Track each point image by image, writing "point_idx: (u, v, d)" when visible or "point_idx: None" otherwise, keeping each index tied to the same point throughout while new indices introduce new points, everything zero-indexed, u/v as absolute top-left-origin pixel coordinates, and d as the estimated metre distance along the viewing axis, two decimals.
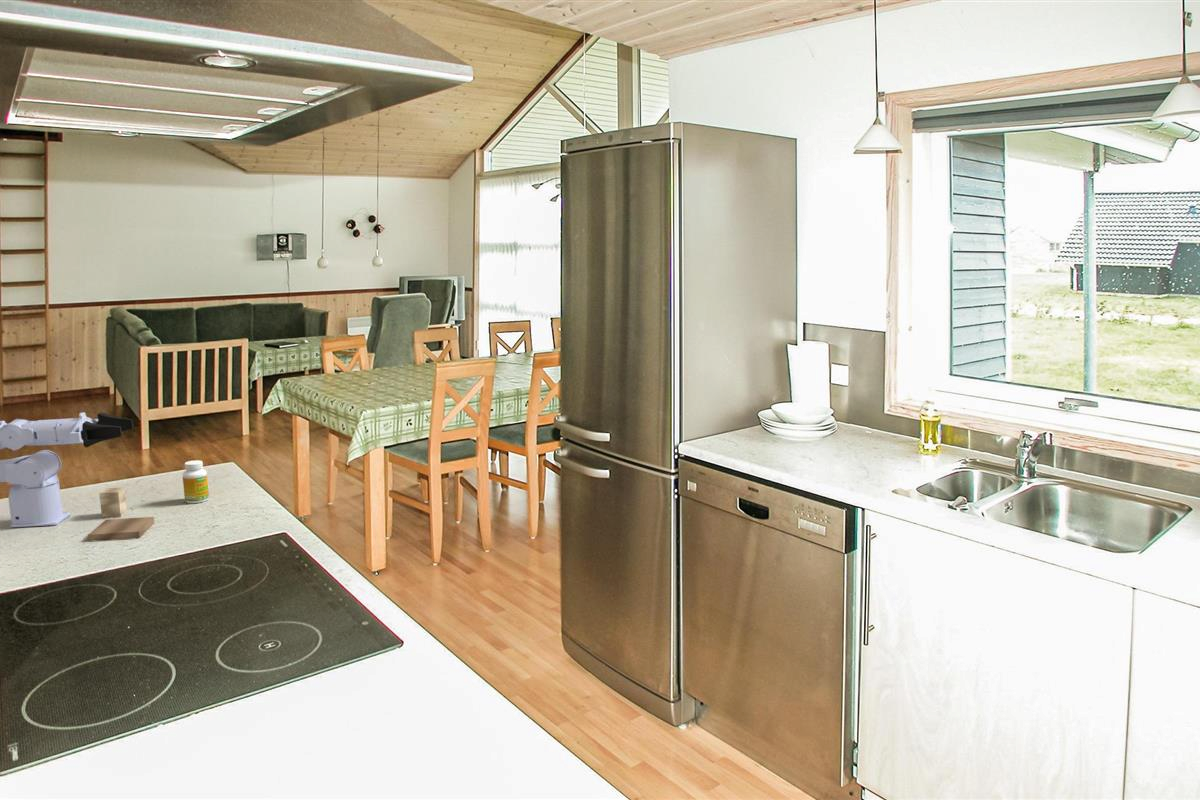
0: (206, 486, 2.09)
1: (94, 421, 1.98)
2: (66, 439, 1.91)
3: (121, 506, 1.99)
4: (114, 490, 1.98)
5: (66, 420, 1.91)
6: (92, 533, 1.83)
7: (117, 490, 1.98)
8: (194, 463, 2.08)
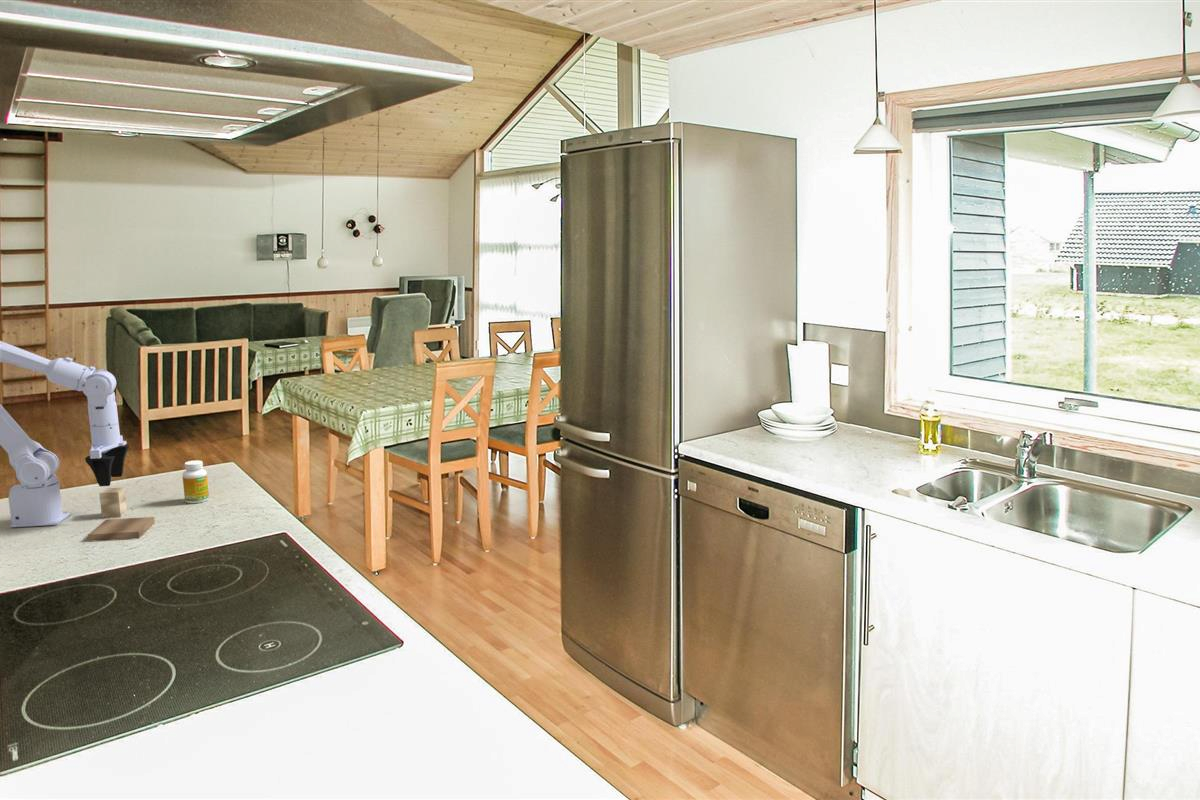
0: (206, 486, 2.09)
1: None
2: (94, 434, 1.93)
3: (121, 506, 1.99)
4: (114, 490, 1.98)
5: (116, 431, 1.95)
6: (92, 533, 1.83)
7: (117, 490, 1.98)
8: (194, 463, 2.08)
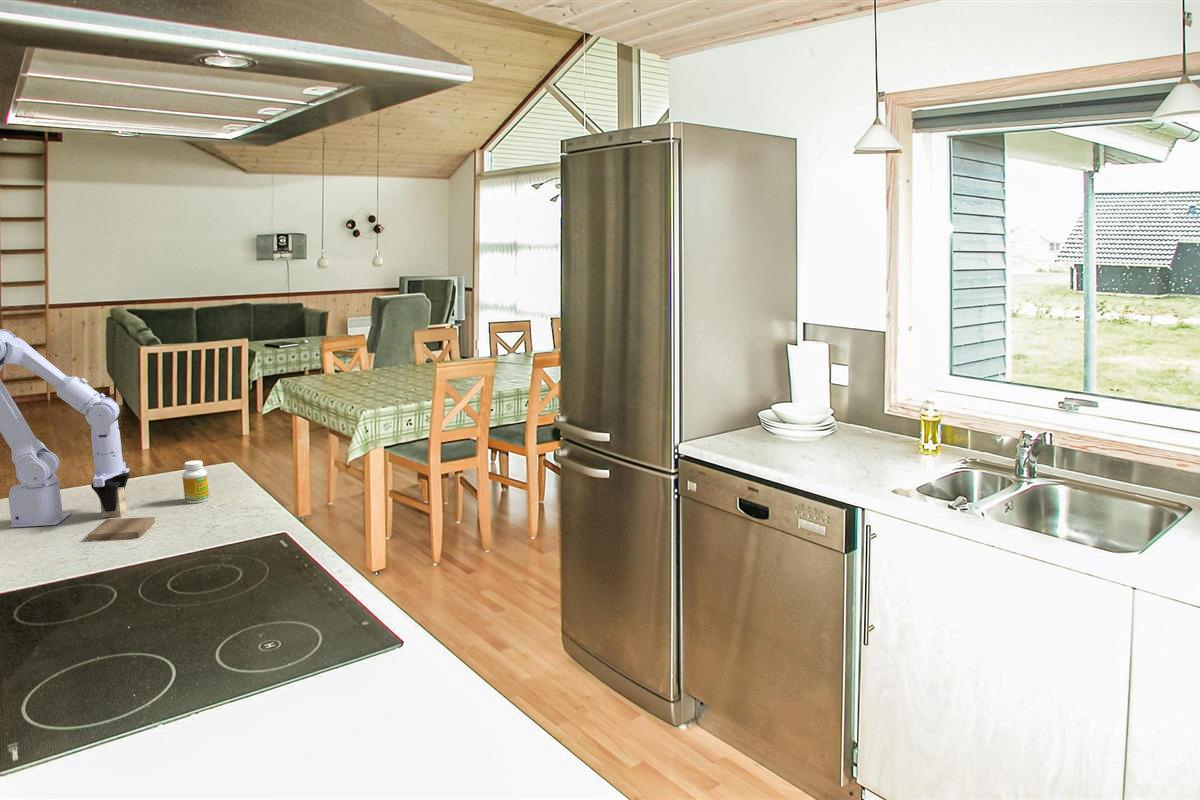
0: (206, 486, 2.09)
1: None
2: (97, 461, 1.94)
3: (121, 506, 1.99)
4: None
5: (119, 459, 1.97)
6: (92, 533, 1.83)
7: None
8: (194, 463, 2.08)
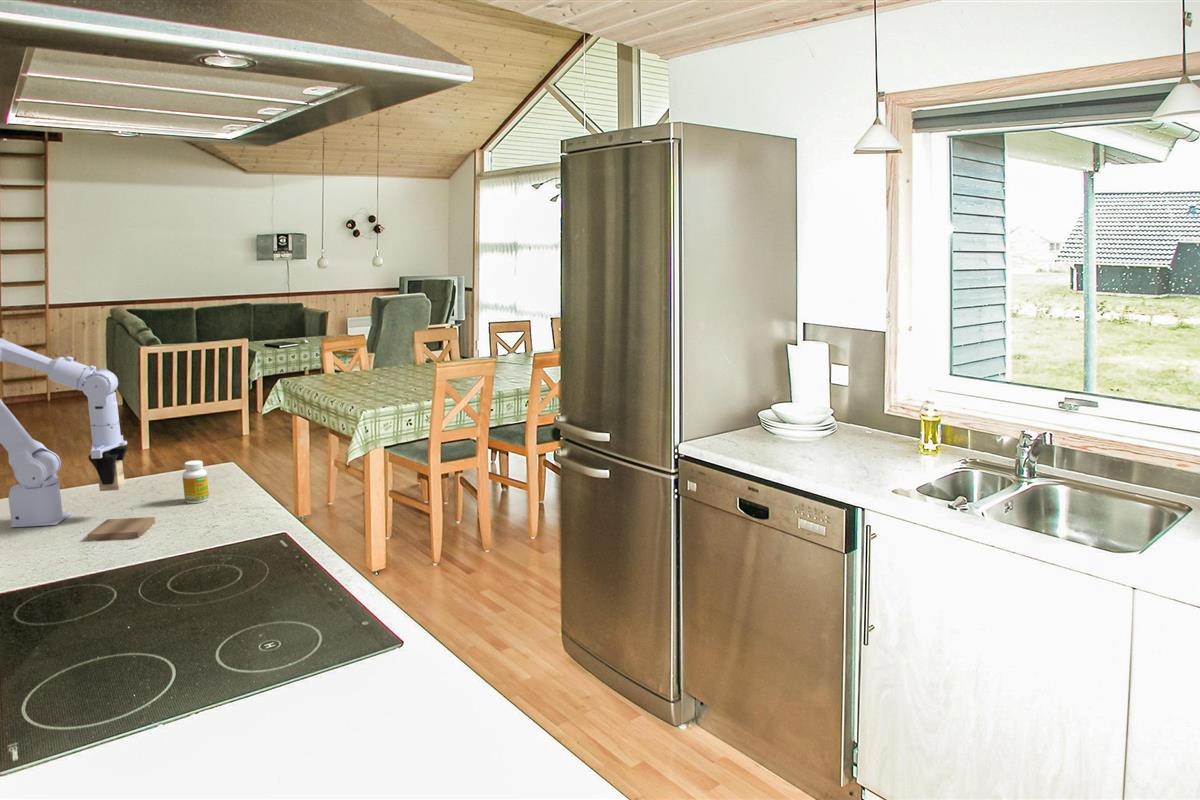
0: (206, 486, 2.09)
1: None
2: (95, 433, 1.92)
3: (119, 479, 1.96)
4: None
5: (117, 431, 1.94)
6: (91, 533, 1.83)
7: (115, 463, 1.96)
8: (194, 463, 2.08)
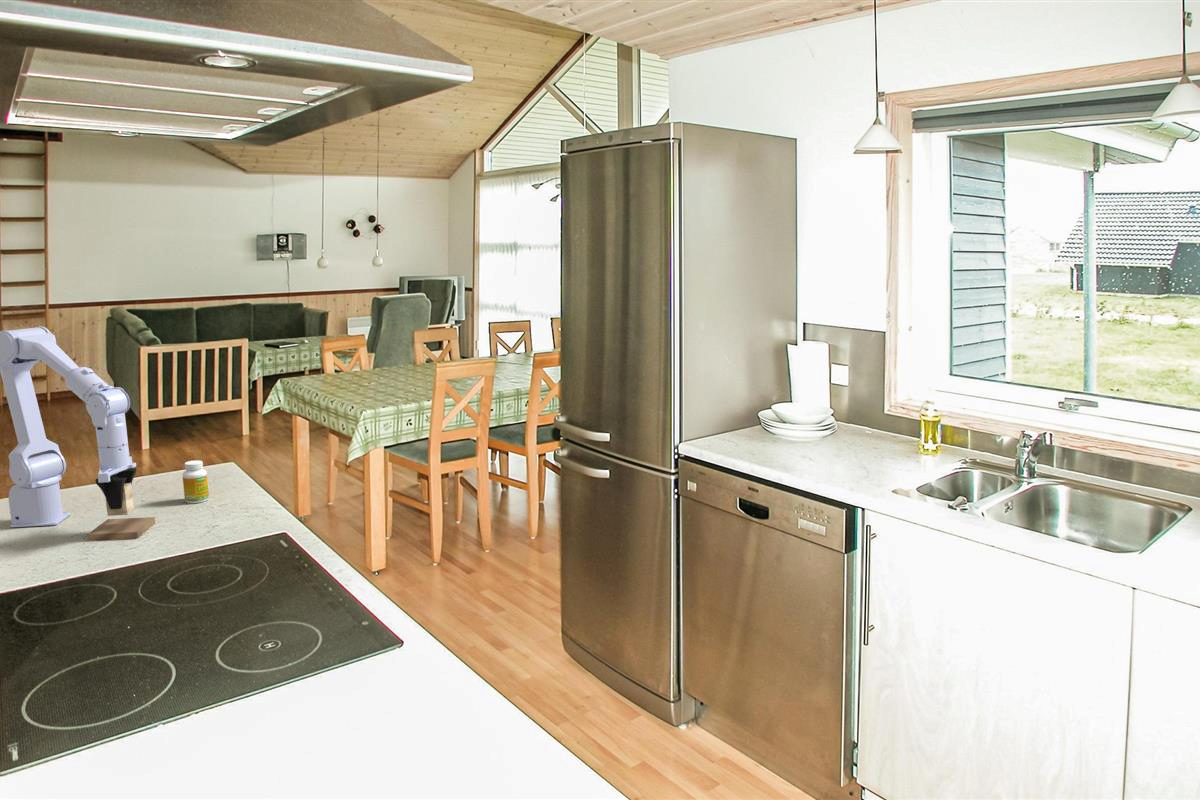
0: (206, 486, 2.09)
1: None
2: (102, 455, 1.82)
3: (128, 503, 1.86)
4: None
5: (125, 453, 1.84)
6: (91, 533, 1.83)
7: None
8: (194, 463, 2.08)
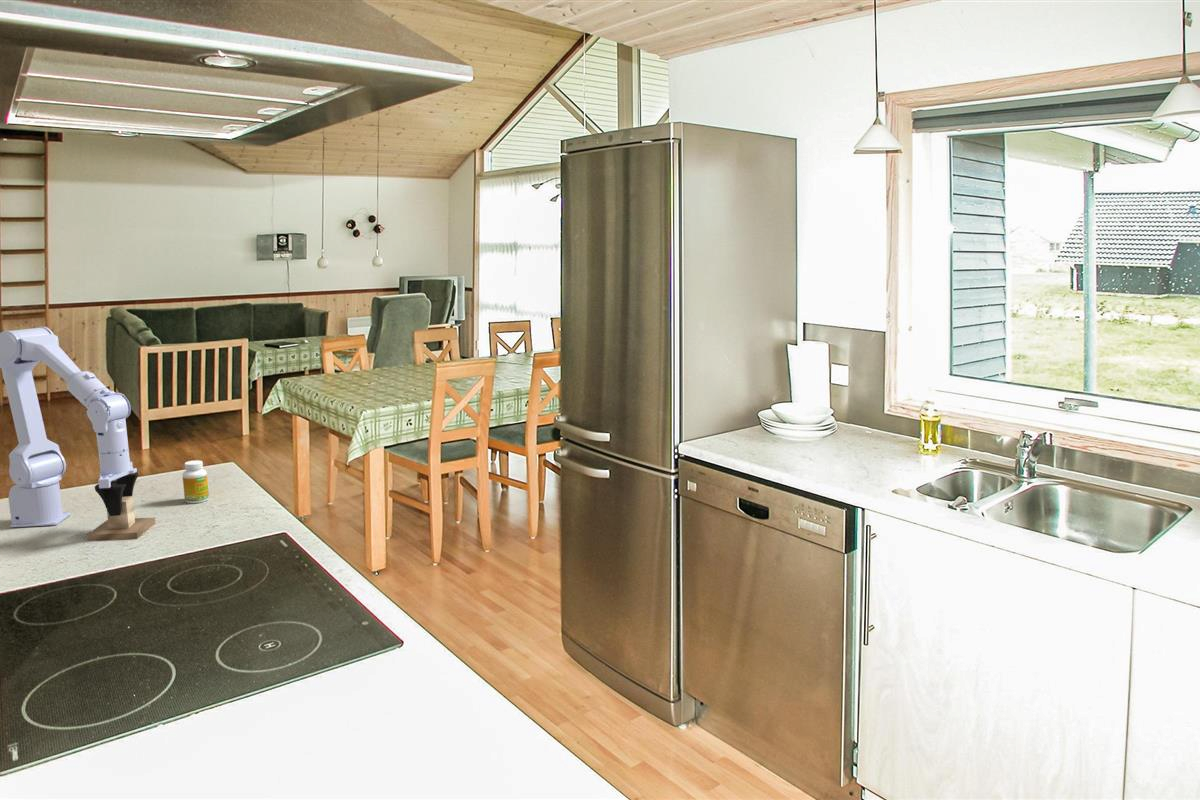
0: (206, 486, 2.09)
1: None
2: (103, 461, 1.82)
3: (129, 517, 1.87)
4: (122, 499, 1.87)
5: (126, 458, 1.85)
6: (91, 533, 1.83)
7: (125, 499, 1.87)
8: (194, 463, 2.08)
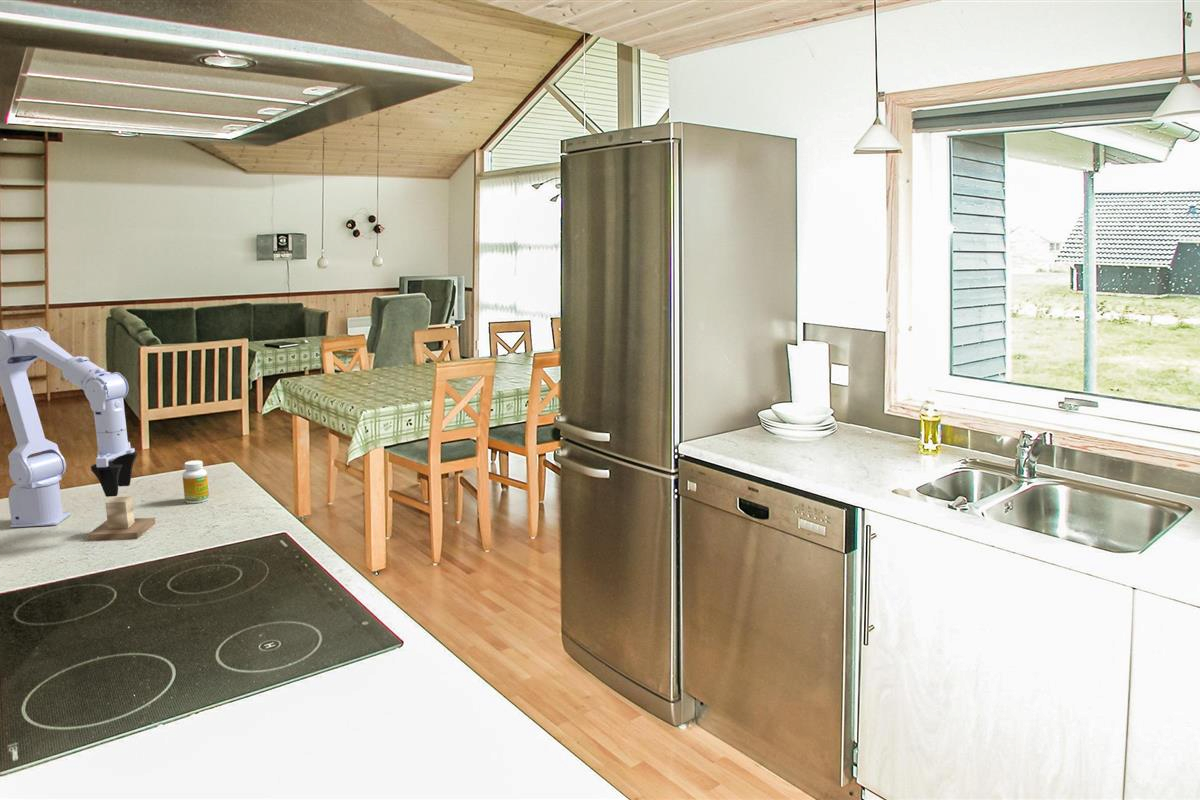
0: (206, 486, 2.09)
1: None
2: (101, 440, 1.82)
3: (129, 517, 1.87)
4: (121, 499, 1.87)
5: (124, 438, 1.84)
6: (91, 533, 1.83)
7: (124, 499, 1.87)
8: (194, 463, 2.08)
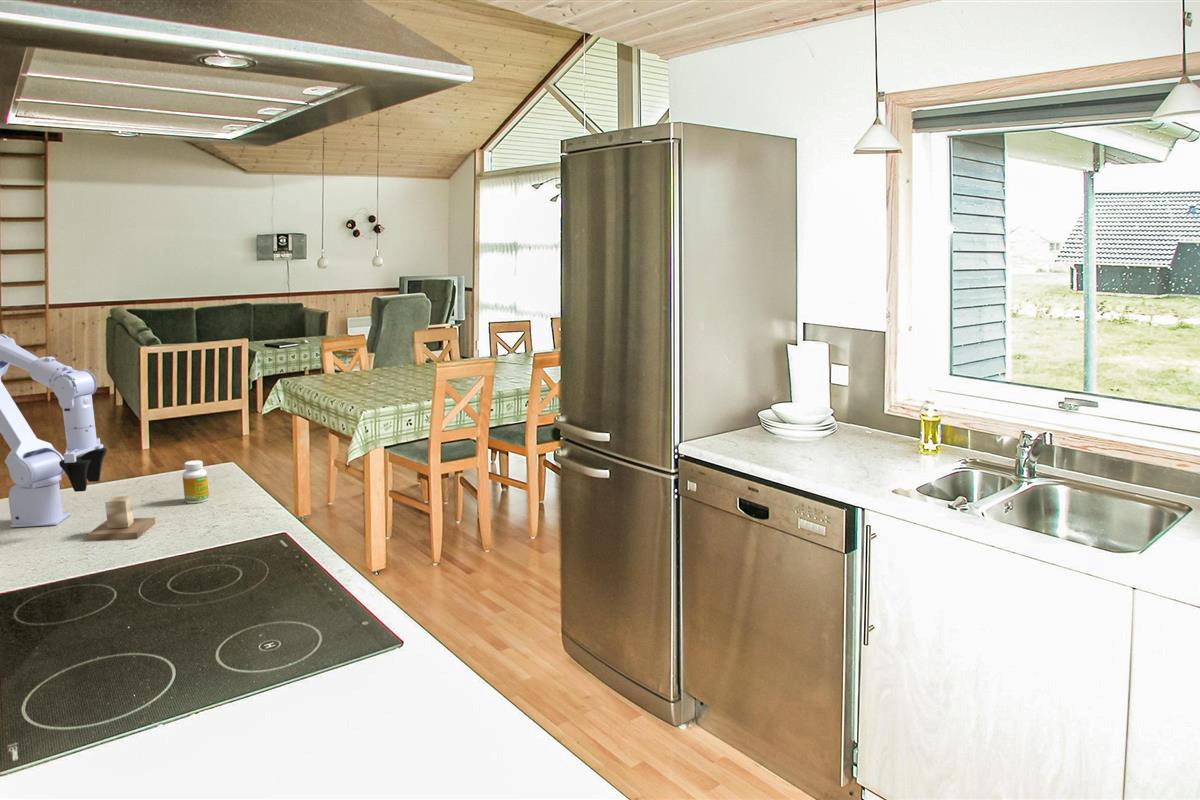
0: (206, 486, 2.09)
1: None
2: (69, 436, 1.85)
3: (128, 516, 1.87)
4: (121, 499, 1.87)
5: (92, 434, 1.87)
6: (91, 533, 1.83)
7: (124, 499, 1.87)
8: (194, 463, 2.08)
